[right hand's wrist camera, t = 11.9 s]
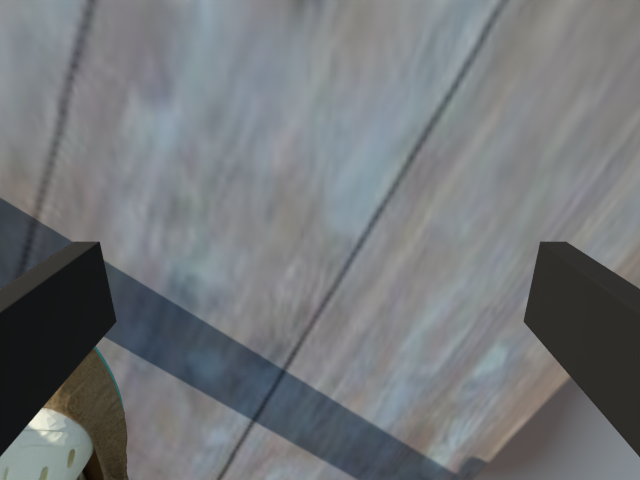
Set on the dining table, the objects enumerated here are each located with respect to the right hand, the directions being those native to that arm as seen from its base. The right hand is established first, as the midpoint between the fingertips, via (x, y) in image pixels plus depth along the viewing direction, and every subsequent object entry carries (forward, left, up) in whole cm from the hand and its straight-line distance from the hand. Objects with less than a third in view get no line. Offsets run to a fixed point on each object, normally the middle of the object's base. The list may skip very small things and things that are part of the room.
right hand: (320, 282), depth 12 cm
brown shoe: (+20, +23, -16) cm, 34 cm away
